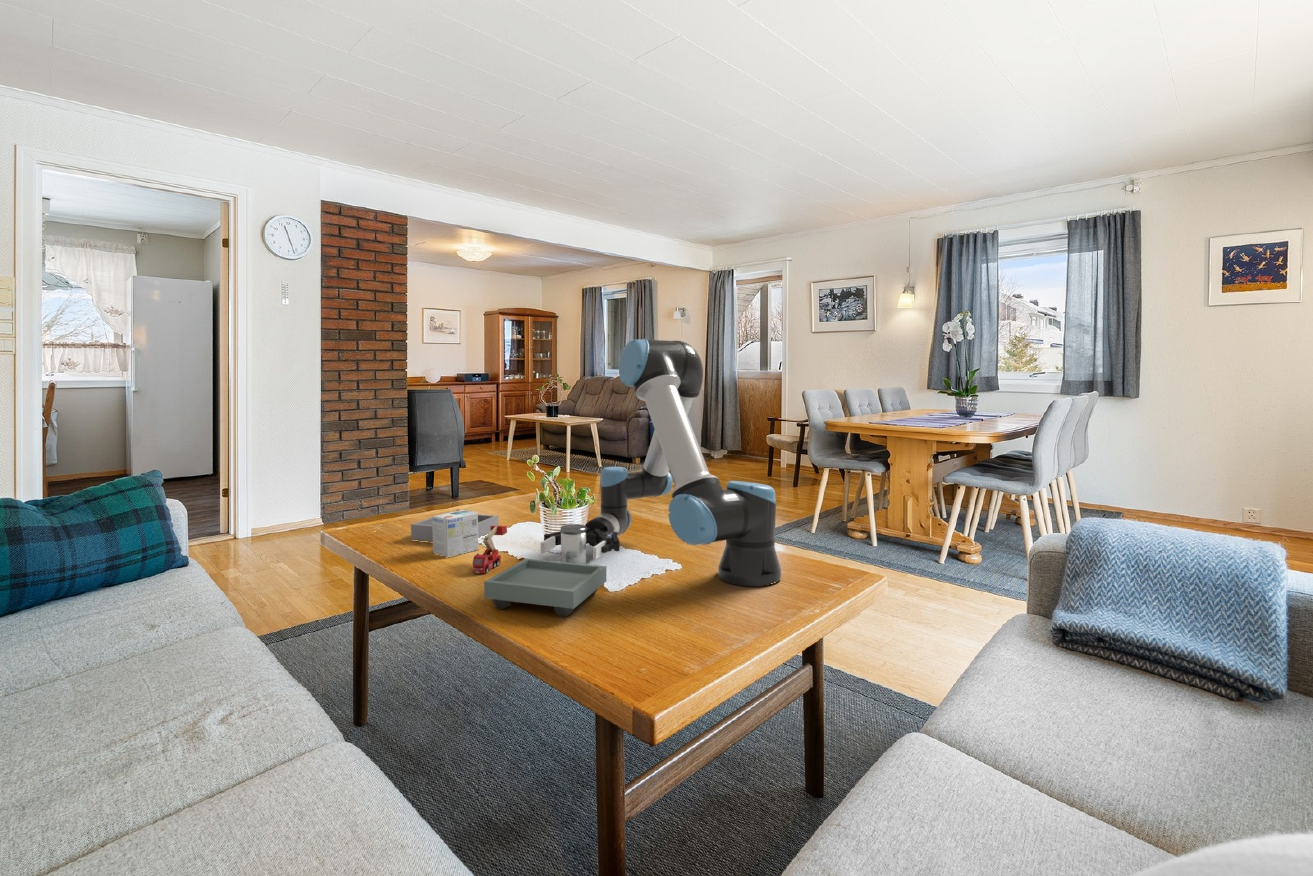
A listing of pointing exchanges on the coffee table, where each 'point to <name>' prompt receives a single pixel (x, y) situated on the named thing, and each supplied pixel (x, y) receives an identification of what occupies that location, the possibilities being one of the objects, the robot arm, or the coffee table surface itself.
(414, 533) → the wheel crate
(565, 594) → the dolly
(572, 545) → the canister
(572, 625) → the coffee table surface
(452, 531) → the light bulb box
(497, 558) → the toy fire truck
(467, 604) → the coffee table surface
